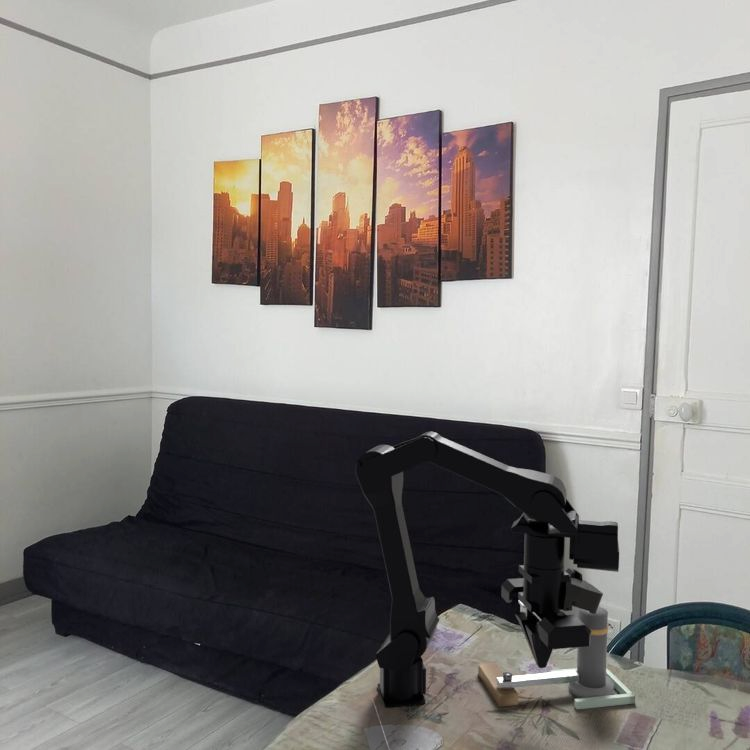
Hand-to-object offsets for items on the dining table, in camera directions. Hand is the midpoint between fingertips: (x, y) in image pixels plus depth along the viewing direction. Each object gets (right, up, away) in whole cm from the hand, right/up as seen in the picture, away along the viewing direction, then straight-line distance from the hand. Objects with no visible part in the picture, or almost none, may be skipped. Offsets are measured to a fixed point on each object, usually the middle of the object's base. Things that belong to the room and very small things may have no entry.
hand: (541, 666), depth 103 cm
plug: (+10, -7, +8) cm, 15 cm away
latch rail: (-5, -7, +9) cm, 12 cm away
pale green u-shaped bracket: (+10, -7, +8) cm, 15 cm away
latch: (+1, -5, +7) cm, 8 cm away
